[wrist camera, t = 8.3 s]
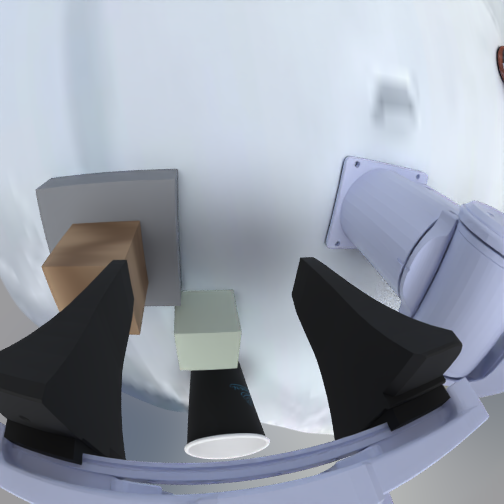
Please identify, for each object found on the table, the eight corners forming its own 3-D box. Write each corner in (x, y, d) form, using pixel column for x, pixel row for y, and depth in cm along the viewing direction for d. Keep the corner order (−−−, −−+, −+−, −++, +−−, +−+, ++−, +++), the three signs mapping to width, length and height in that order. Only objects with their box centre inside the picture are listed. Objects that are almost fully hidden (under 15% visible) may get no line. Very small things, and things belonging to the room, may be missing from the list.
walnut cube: (139, 220, 16) (122, 265, 12) (148, 282, 19) (140, 334, 15) (72, 223, 15) (41, 266, 11) (88, 282, 18) (69, 331, 14)
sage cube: (232, 288, 24) (241, 331, 20) (229, 327, 26) (237, 368, 22) (175, 290, 23) (174, 333, 19) (179, 328, 25) (180, 370, 21)
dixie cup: (172, 372, 29) (176, 457, 20) (190, 332, 26) (197, 435, 17) (233, 381, 32) (248, 458, 23) (260, 344, 29) (286, 434, 20)
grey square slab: (178, 167, 18) (174, 179, 15) (181, 282, 23) (181, 305, 21) (53, 176, 16) (35, 189, 13) (77, 282, 21) (67, 304, 18)
